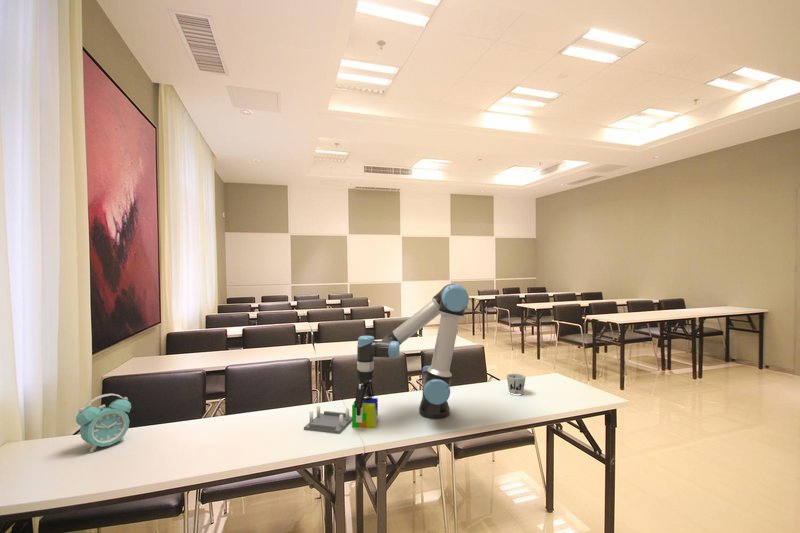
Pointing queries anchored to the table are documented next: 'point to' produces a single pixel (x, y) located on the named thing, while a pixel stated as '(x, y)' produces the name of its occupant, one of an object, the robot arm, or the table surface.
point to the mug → (516, 383)
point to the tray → (329, 421)
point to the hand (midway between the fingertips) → (364, 416)
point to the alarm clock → (104, 422)
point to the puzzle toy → (366, 414)
